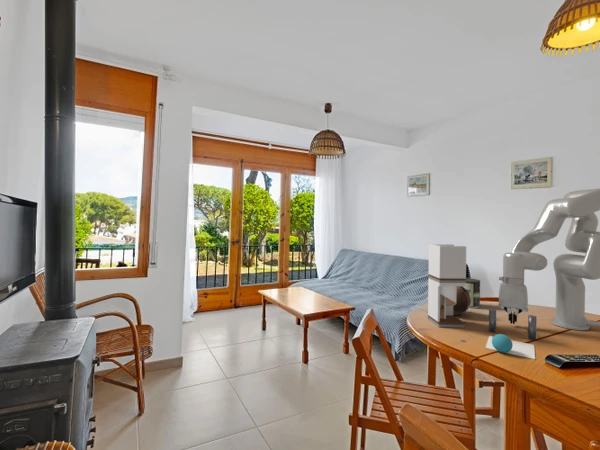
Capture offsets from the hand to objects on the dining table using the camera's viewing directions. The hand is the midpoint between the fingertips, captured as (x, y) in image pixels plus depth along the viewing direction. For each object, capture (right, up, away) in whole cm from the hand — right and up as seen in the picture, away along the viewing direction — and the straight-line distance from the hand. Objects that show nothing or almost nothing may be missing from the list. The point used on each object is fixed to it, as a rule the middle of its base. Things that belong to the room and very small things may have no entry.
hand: (512, 322), depth 129 cm
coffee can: (-1, -1, +32) cm, 32 cm away
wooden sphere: (-17, -1, +17) cm, 24 cm away
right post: (-3, -2, -14) cm, 15 cm away
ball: (-22, +1, -26) cm, 34 cm away
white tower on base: (-28, -1, +3) cm, 28 cm away
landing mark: (-16, -2, -21) cm, 27 cm away
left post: (-13, -2, -6) cm, 15 cm away
